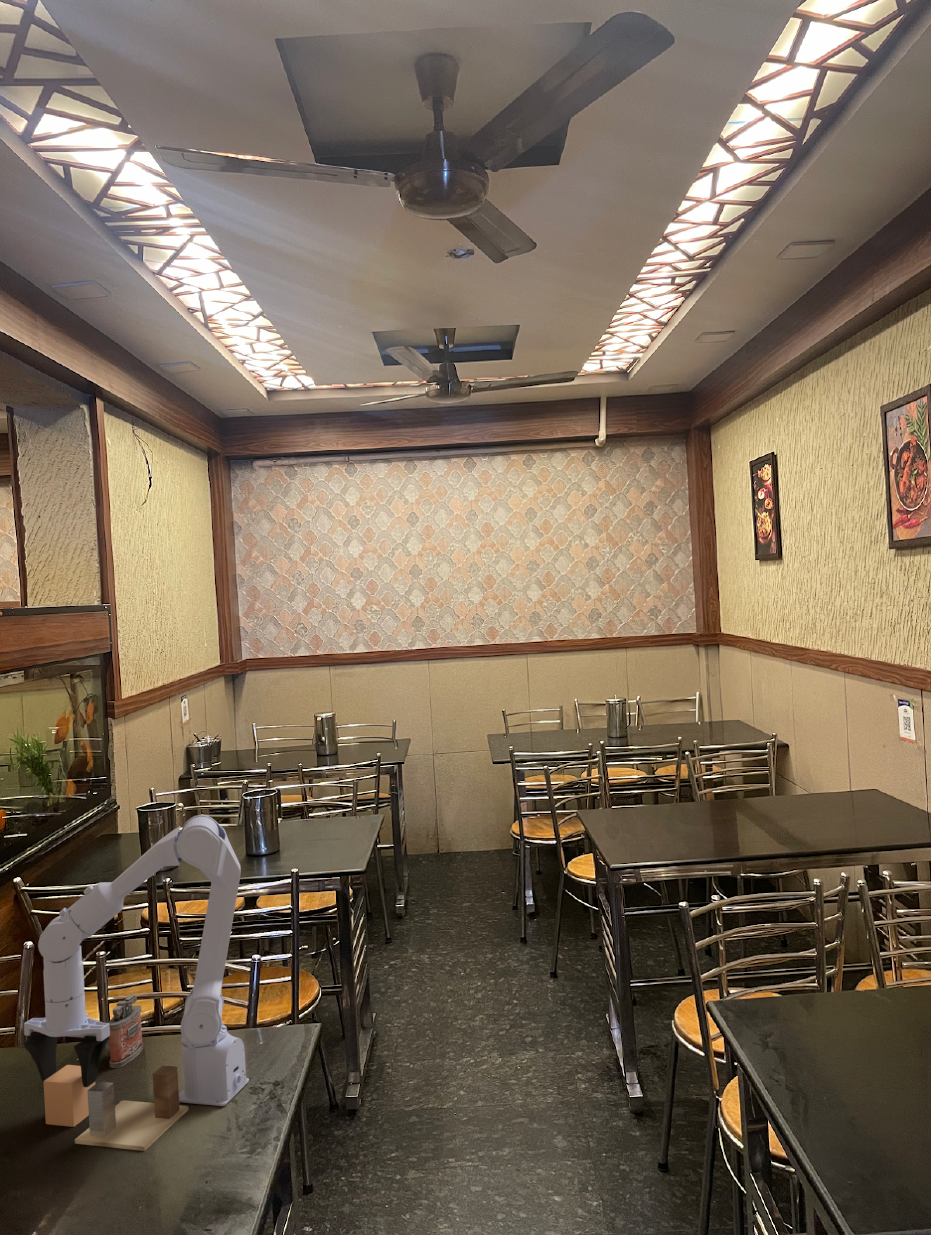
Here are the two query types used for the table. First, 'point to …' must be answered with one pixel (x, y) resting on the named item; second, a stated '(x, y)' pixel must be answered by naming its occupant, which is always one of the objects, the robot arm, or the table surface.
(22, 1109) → the table surface
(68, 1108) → the tan rectangular block
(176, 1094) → the post
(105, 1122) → the post
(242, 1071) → the robot arm
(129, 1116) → the board
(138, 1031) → the lighter
